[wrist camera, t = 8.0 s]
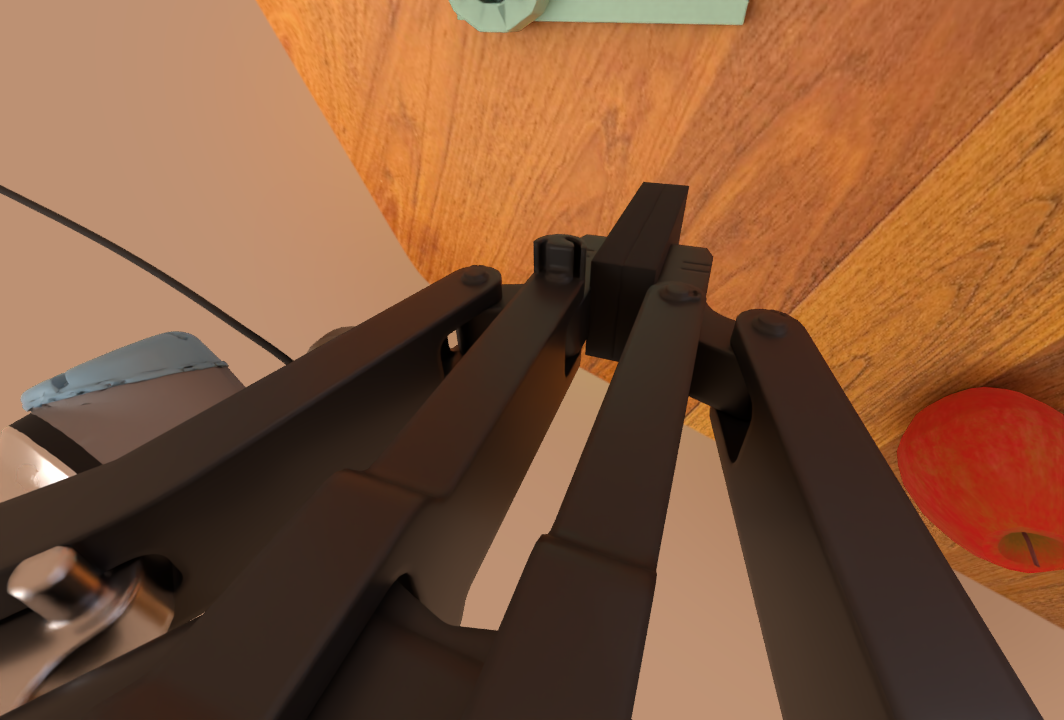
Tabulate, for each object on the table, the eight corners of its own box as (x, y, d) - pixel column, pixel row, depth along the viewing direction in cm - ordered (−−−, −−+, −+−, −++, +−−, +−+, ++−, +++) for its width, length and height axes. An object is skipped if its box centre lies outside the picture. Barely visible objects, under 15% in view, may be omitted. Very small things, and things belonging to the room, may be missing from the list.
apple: (935, 343, 27) (1007, 480, 19) (1103, 387, 25) (1259, 560, 17) (859, 434, 32) (891, 572, 24) (992, 476, 31) (1074, 640, 23)
